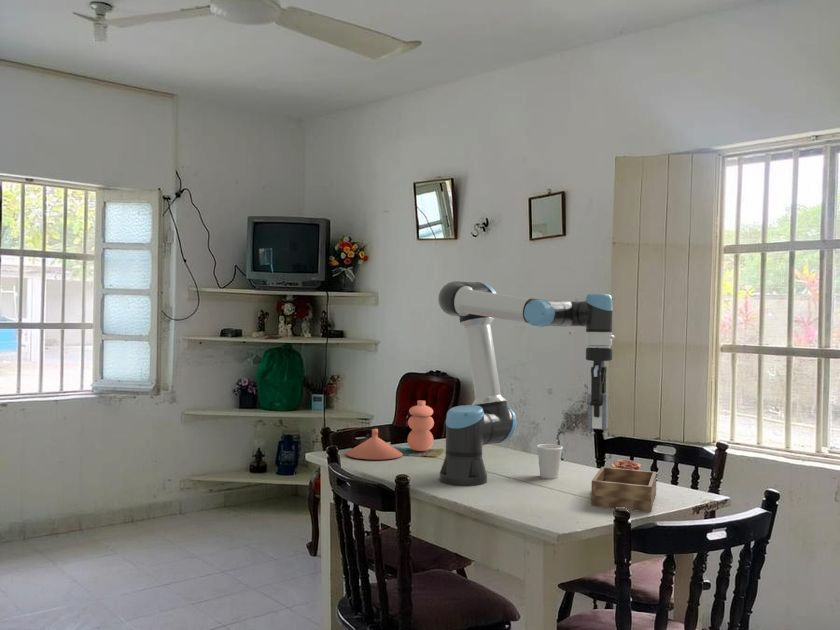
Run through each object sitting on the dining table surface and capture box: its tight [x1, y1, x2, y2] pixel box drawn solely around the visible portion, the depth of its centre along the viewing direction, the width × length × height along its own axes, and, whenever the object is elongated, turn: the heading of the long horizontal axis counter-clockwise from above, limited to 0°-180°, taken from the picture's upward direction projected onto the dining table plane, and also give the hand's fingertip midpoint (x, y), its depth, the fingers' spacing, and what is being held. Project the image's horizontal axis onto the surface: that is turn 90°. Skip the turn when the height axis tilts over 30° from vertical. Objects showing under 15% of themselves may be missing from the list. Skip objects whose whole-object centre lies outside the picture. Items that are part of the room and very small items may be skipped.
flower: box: [610, 458, 642, 471], centre depth 235 cm, size 10×9×8 cm
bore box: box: [590, 466, 658, 513], centre depth 214 cm, size 16×21×7 cm
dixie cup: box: [536, 443, 564, 480], centre depth 243 cm, size 8×8×10 cm
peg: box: [587, 392, 610, 431], centre depth 217 cm, size 5×5×10 cm
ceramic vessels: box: [345, 399, 435, 461], centre depth 279 cm, size 35×21×19 cm, turn 120°
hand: (598, 426), depth 217 cm, fingers closed on peg, 5 cm apart
